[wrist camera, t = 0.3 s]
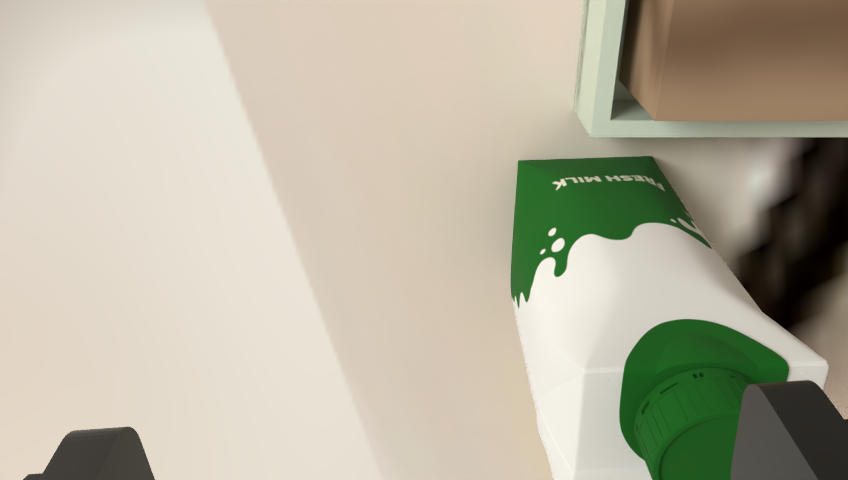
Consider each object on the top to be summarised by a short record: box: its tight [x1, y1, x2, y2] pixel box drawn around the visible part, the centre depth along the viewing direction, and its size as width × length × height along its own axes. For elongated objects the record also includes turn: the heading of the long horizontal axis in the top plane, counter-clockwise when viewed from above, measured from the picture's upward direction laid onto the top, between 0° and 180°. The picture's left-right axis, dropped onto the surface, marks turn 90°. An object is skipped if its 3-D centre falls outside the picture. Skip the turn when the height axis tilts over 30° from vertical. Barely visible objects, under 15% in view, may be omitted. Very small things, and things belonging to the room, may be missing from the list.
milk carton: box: [511, 156, 829, 480], centre depth 31 cm, size 9×9×20 cm
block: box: [619, 0, 848, 121], centre depth 31 cm, size 8×10×6 cm
